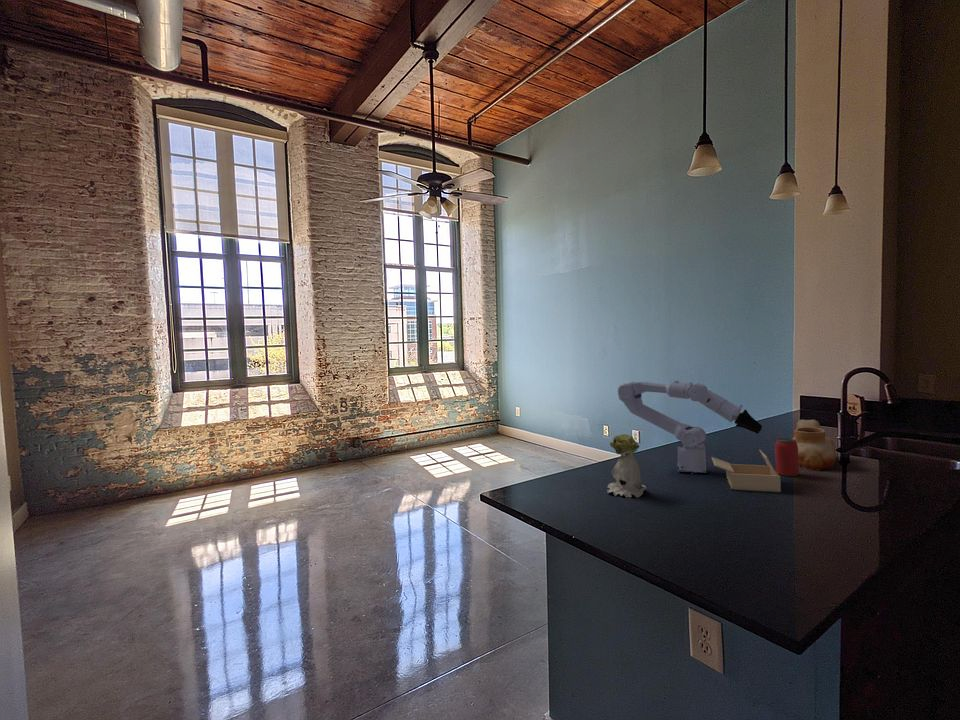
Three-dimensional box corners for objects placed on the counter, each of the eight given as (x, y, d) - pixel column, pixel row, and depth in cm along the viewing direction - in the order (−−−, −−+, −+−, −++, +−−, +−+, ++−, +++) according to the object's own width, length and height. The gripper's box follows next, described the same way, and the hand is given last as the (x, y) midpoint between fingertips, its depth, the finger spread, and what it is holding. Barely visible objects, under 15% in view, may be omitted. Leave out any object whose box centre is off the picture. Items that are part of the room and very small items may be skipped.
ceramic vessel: (831, 456, 180) (829, 418, 179) (839, 472, 157) (838, 429, 157) (788, 453, 187) (787, 417, 187) (791, 469, 165) (789, 427, 165)
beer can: (803, 476, 155) (802, 441, 155) (783, 477, 155) (782, 441, 155) (790, 471, 161) (789, 437, 161) (771, 472, 162) (770, 438, 161)
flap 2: (765, 457, 142) (767, 457, 141) (758, 449, 152) (760, 449, 152) (775, 474, 141) (776, 474, 141) (767, 465, 151) (769, 465, 151)
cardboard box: (731, 489, 145) (731, 473, 145) (726, 478, 157) (726, 463, 157) (780, 492, 140) (780, 476, 140) (771, 480, 152) (771, 465, 152)
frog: (644, 486, 152) (642, 431, 152) (646, 499, 140) (644, 438, 139) (607, 485, 156) (605, 431, 155) (606, 497, 143) (604, 438, 143)
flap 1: (734, 471, 145) (733, 472, 145) (729, 463, 156) (729, 464, 156) (715, 464, 147) (714, 466, 147) (711, 456, 158) (711, 457, 158)
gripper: (727, 393, 154) (768, 417, 147) (729, 400, 166) (766, 422, 159) (715, 410, 155) (754, 435, 148) (717, 416, 167) (754, 439, 160)
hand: (760, 430), depth 153 cm, fingers open, 7 cm apart
